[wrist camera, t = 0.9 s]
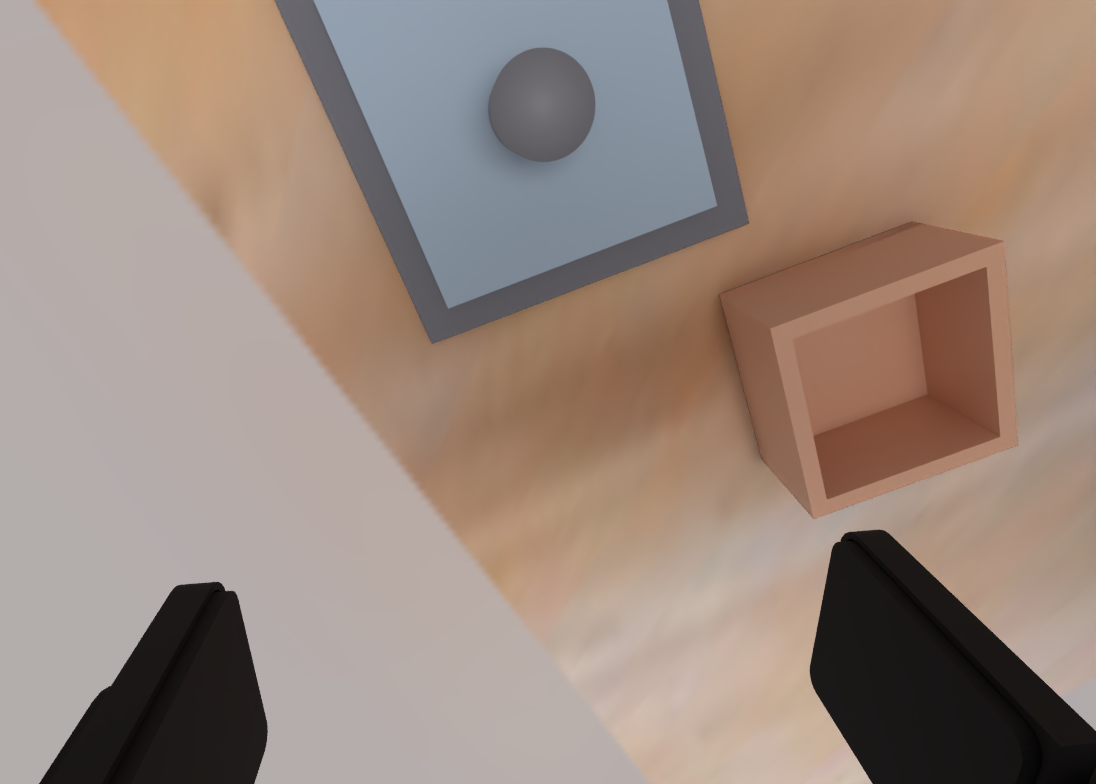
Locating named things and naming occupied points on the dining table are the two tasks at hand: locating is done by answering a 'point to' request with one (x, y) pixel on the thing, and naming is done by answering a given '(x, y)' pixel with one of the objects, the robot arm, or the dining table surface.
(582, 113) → the lid
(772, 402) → the open cube shelf
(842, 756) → the dining table surface
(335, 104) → the mat
